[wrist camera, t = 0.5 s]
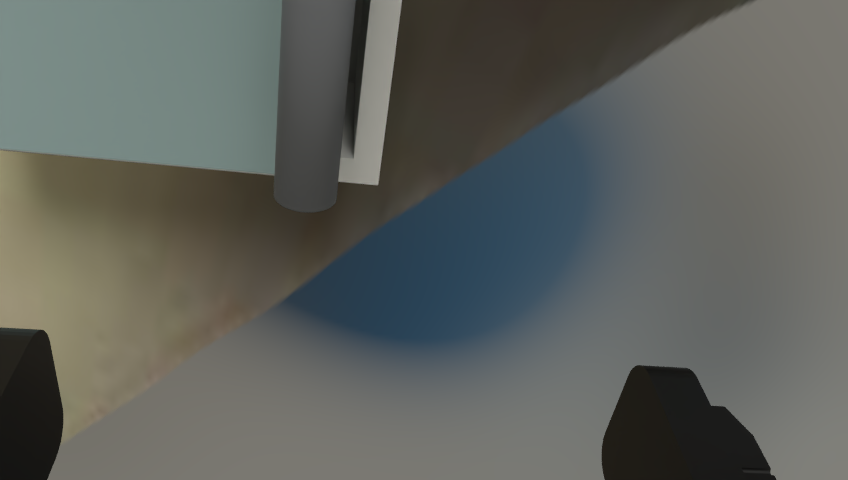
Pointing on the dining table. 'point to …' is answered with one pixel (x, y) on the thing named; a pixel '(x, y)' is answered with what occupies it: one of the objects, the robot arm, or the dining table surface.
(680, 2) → the dining table surface
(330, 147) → the door
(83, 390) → the dining table surface
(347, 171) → the cabinet
